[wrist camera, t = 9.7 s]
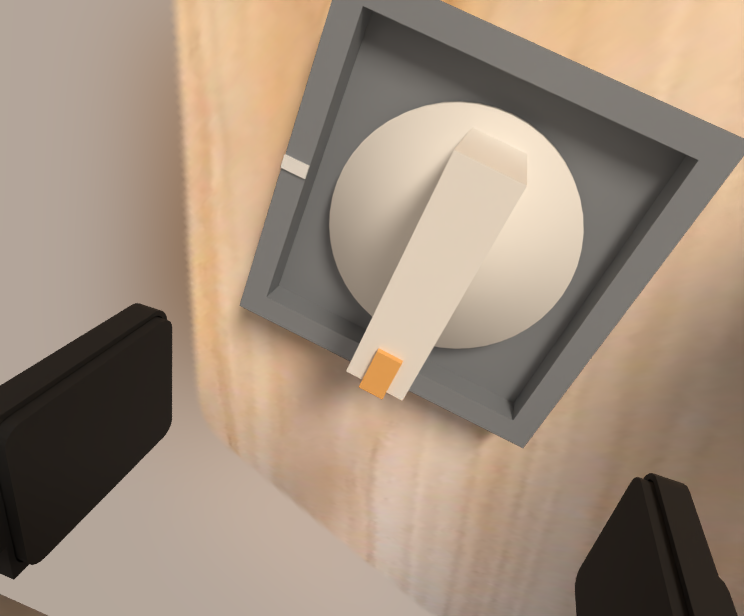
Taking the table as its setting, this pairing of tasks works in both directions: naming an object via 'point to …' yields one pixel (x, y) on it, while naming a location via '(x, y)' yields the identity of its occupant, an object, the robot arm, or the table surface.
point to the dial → (451, 235)
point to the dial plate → (549, 116)
